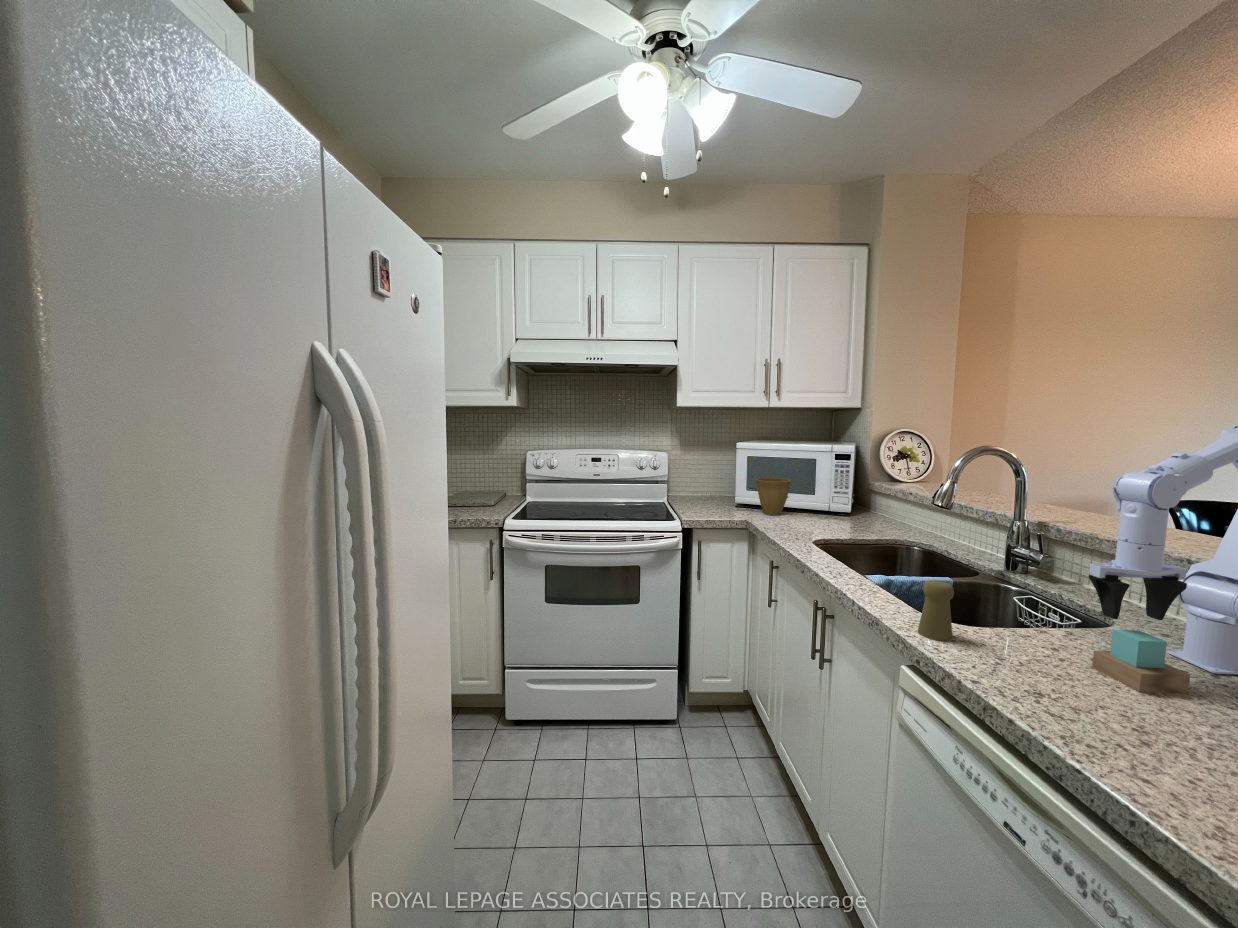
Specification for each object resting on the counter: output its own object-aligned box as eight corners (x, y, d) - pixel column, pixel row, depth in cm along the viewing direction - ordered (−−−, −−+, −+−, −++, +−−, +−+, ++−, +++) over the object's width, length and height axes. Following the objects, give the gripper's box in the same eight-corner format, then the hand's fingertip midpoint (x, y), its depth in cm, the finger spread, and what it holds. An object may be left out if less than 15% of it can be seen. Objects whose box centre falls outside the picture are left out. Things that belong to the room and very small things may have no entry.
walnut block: (1136, 670, 89) (1138, 651, 89) (1187, 695, 81) (1190, 674, 81) (1091, 669, 89) (1093, 650, 88) (1138, 694, 81) (1141, 673, 81)
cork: (920, 625, 106) (924, 575, 104) (954, 634, 102) (958, 581, 101) (915, 635, 101) (919, 582, 100) (950, 644, 97) (955, 589, 96)
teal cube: (1136, 655, 87) (1139, 630, 87) (1163, 668, 82) (1166, 641, 82) (1109, 654, 87) (1112, 629, 87) (1135, 667, 83) (1138, 640, 82)
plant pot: (787, 512, 234) (788, 478, 233) (790, 518, 220) (792, 482, 218) (754, 510, 238) (755, 476, 236) (755, 516, 223) (757, 480, 222)
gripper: (1159, 536, 90) (1151, 609, 92) (1077, 535, 91) (1070, 607, 92) (1203, 546, 83) (1194, 625, 85) (1114, 545, 84) (1106, 623, 85)
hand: (1132, 617), depth 88 cm, fingers open, 7 cm apart
